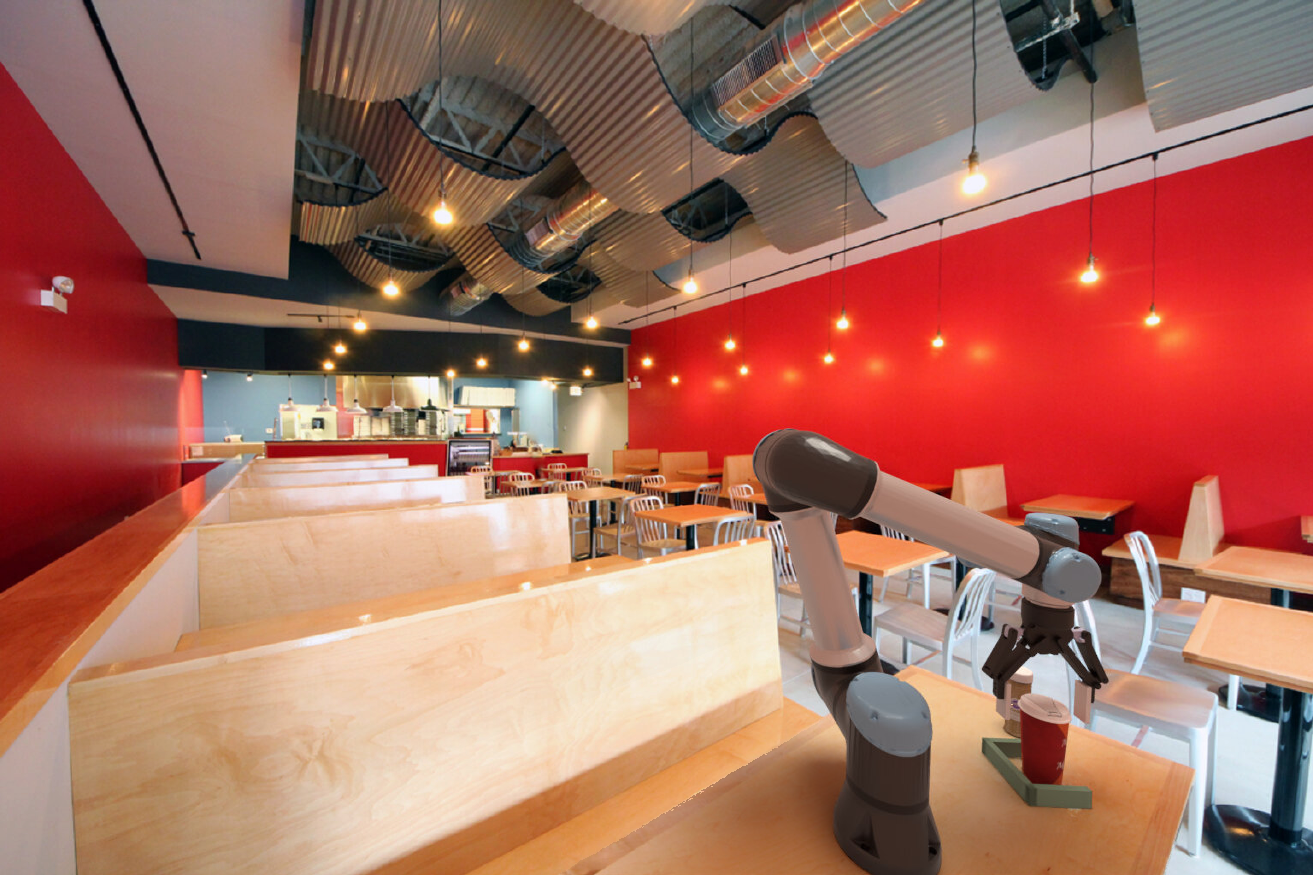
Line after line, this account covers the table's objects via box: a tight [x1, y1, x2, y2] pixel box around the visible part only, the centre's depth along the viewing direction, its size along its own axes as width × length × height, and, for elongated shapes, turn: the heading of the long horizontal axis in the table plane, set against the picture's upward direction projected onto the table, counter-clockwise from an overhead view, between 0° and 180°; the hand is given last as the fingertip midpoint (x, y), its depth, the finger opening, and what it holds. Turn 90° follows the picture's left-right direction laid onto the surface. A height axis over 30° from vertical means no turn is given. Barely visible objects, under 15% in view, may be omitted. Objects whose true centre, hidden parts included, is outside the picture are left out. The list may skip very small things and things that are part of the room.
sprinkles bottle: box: [1003, 665, 1034, 739], centre depth 103 cm, size 5×5×14 cm
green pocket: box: [981, 736, 1093, 810], centre depth 90 cm, size 10×13×3 cm
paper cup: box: [1018, 693, 1073, 785], centre depth 89 cm, size 8×8×14 cm
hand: (1041, 717), depth 89 cm, fingers open, 13 cm apart
